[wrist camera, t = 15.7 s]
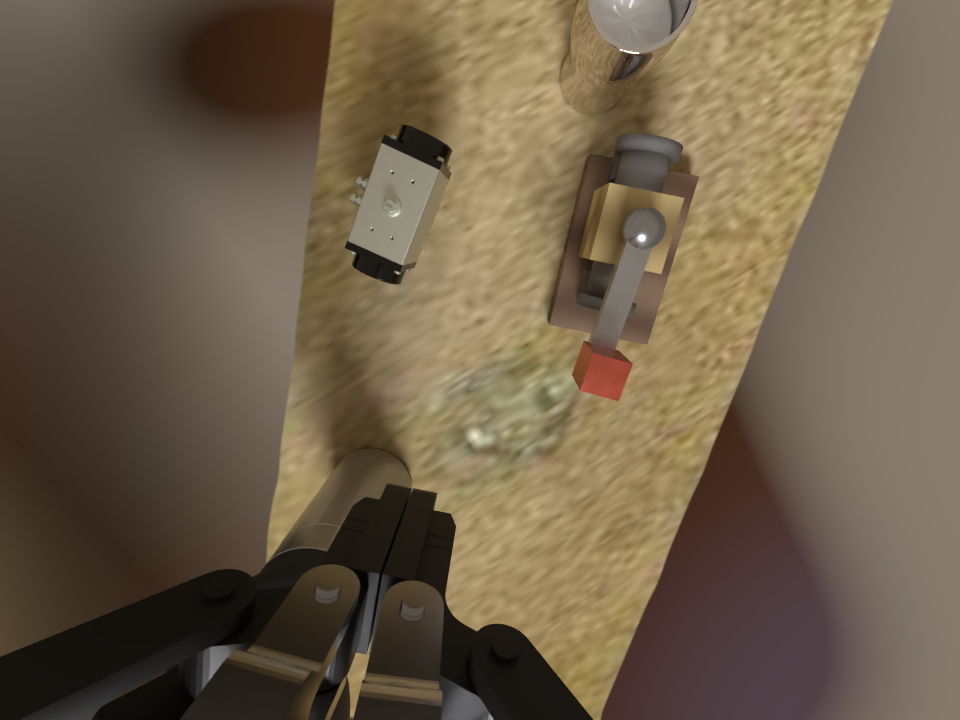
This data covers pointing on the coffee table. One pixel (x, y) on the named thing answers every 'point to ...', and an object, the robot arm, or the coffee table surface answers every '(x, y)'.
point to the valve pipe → (597, 232)
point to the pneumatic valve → (398, 204)
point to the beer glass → (617, 47)
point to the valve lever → (618, 308)
